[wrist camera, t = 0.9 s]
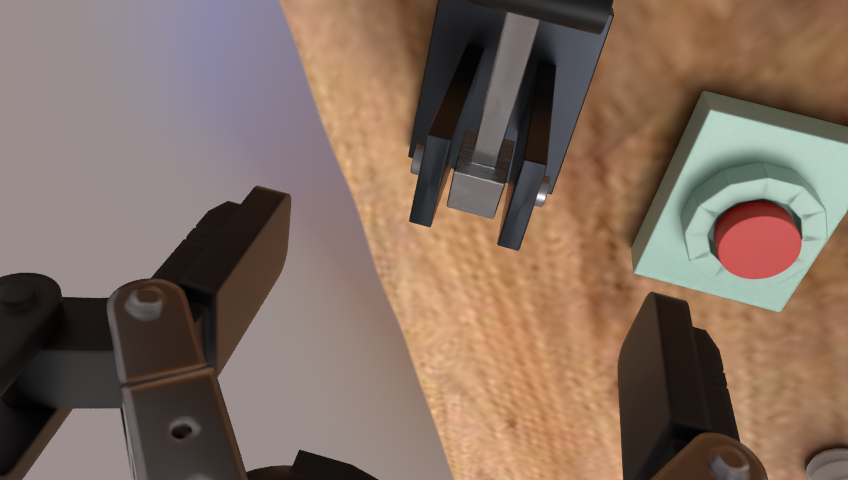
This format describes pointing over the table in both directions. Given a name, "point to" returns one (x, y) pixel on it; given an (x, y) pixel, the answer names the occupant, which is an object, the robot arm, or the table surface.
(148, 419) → the robot arm
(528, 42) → the lever
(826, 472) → the rook chess piece
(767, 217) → the button
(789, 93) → the table surface
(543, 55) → the bracket
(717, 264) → the button box
